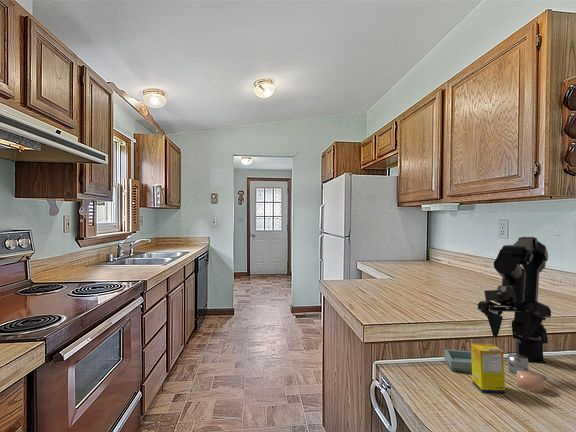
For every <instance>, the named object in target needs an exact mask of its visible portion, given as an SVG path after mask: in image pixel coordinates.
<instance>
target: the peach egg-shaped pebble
mask: <svg viewBox="0 0 576 432" xmlns="http://www.w3.org/2000/svg"><path fill="white" fill-rule="evenodd" d="M516 373H517V375H516V386H517V387H518V389H520V388H521V390H522V389H523V390H522V391H524V390H526V391H525V392H527V391H529V392H528V393H532V392H535V393H534V394H542V393H541V392H543V393H545V378H544V376H543V375H542V374H540V373H537V372H536V371H535V372H534V371H530V370H529V371H517V372H516Z"/></svg>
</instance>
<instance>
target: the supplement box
mask: <svg viewBox="0 0 576 432" xmlns="http://www.w3.org/2000/svg"><path fill="white" fill-rule="evenodd" d="M470 351H471V360H472V373H471V379H472V384H473V385H474V386H475V387H476V388H477V389H478V391H480V392H481V393H493V394H494V393H496V394H505V393H506V383H505V381H506V380H505V379H506V378H505V362H504V360H505V359H504V350H502V349H501V348H499V347H498V346H497V345H495V344H493V343H470Z"/></svg>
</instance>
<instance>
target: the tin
mask: <svg viewBox="0 0 576 432" xmlns="http://www.w3.org/2000/svg"><path fill="white" fill-rule="evenodd" d="M507 365H508V366H507V367H508V369H507V370H508V372H509V373H511V374H513V375H516V376H517V373H516V372H517V371H530V370H529V361H528V358H527V357H525V356H522V355H518V354H516V353H508V354H507Z"/></svg>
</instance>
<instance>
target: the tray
mask: <svg viewBox="0 0 576 432" xmlns="http://www.w3.org/2000/svg"><path fill="white" fill-rule="evenodd" d="M445 359H446V360H445ZM444 360H445V362H446V364H447V366H448V368H449V370H450V371H451V372H456V371H462V372H461V373H466V372H472V360H471V350H470V351H467V350H457V349H446V348H445V349H444Z"/></svg>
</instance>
